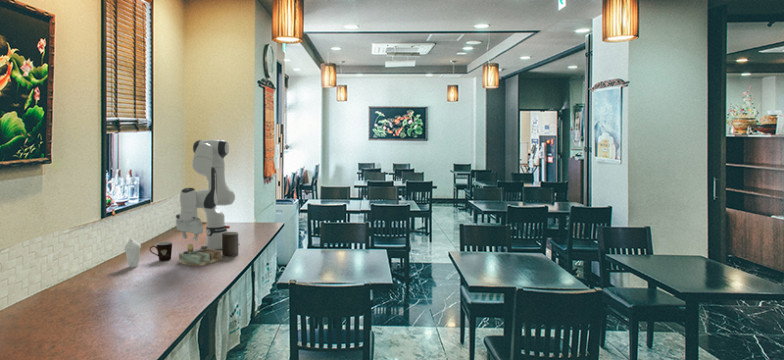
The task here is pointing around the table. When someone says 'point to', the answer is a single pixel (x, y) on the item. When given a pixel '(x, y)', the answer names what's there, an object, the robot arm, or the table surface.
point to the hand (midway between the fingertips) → (190, 239)
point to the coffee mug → (163, 250)
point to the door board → (200, 257)
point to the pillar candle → (229, 244)
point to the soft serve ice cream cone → (132, 252)
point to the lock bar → (190, 249)
